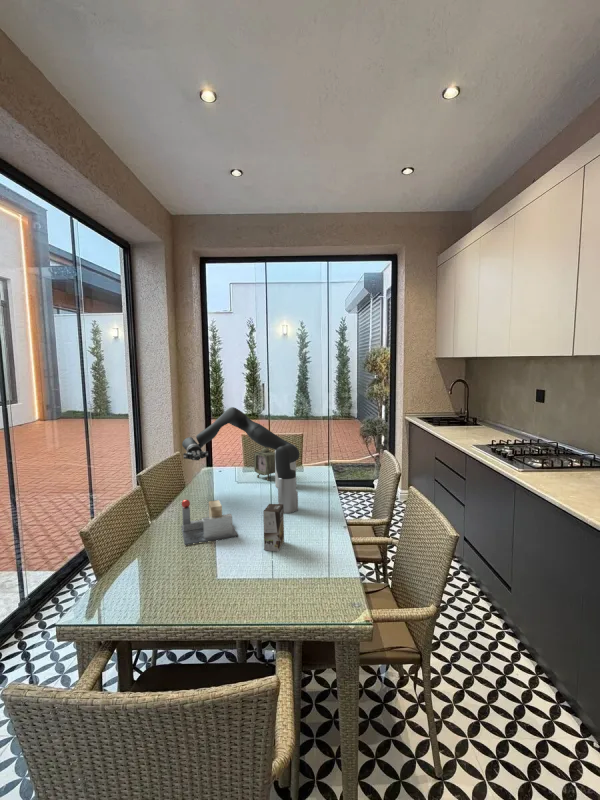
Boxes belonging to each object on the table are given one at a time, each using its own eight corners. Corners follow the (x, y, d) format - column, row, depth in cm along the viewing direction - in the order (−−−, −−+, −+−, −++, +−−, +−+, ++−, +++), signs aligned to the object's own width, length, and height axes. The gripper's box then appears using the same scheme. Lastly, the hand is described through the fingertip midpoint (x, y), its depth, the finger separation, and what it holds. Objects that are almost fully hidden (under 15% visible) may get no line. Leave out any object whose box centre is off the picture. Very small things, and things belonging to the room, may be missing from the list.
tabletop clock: (254, 477, 259) (253, 440, 257) (265, 474, 265) (264, 438, 263) (267, 482, 249) (266, 443, 247) (278, 479, 255) (278, 441, 253)
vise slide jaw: (229, 521, 182) (229, 492, 181) (231, 524, 179) (230, 495, 178) (182, 528, 175) (181, 499, 174) (182, 531, 172) (181, 501, 170)
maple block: (219, 526, 177) (218, 500, 177) (222, 532, 170) (221, 505, 169) (209, 527, 176) (208, 501, 175) (212, 534, 168) (211, 507, 167)
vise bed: (229, 520, 187) (228, 501, 186) (238, 537, 168) (237, 516, 167) (181, 527, 179) (180, 508, 178) (184, 545, 160) (183, 524, 159)
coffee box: (279, 551, 154) (278, 511, 153) (263, 550, 155) (262, 510, 154) (284, 541, 163) (284, 503, 162) (269, 540, 164) (269, 502, 163)
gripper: (181, 445, 208) (183, 452, 191) (206, 443, 212) (211, 449, 196) (181, 459, 208) (184, 467, 192) (206, 457, 213) (211, 464, 197)
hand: (197, 458), depth 194 cm, fingers closed
